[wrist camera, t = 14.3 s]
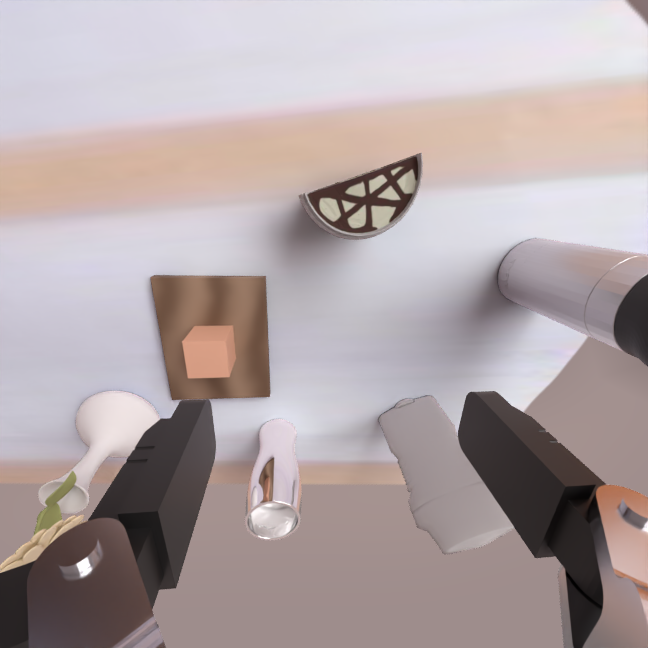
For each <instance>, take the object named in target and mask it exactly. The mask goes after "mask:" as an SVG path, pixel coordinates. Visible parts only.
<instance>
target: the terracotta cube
mask: <svg viewBox="0 0 648 648" xmlns="http://www.w3.org/2000/svg"><path fill="white" fill-rule="evenodd" d="M182 344H183V350H184V357H185V363H186V369H187V376H188V378H220V377H230V374H231V371H232V368H233V366H234V363H235V360H236V353H235V342H234V331H233V325H231V326H194V327H193V329H192V330H191V331H190V332H189V334H188V335H187V336H186V337H185V339H184V340H183V341H182Z"/></svg>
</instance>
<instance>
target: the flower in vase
mask: <svg viewBox="0 0 648 648" xmlns="http://www.w3.org/2000/svg"><path fill="white" fill-rule="evenodd" d="M159 420H160V417H159V415H158V413H157V411H156V409H155V408H154V407H153V406H152V405H151V404H150V403H149V402H148V401H147V400H145V399H144V398H142V397H140V396H138V395H135V394H133V393H129V392H125V391H105V392H100V393H97V394H95V395H92V396H91V397H89V398H88V399H86V400H85V401H84V402H83V403H82V405H81V406H80V408H79V410H78V413H77V416H76V428H77V431H78V433H79V435H80V437H81V439H82V441H83V442H84V443H85V444H86V445H87V446H88V447H89V449H88V451H87V453H86V454H85V455H84V457H83V458H82V459H81V460H80V461H79V462H78V464H77V465H75V466H74V467H73V468H72V469H71V470H70V471H69V472H68V473H66V474H65V475H64V476H62V477H60V478H59V479H56V480H53V481H50V482H47V483H46V484H44V485H43V486H41V488H40V489H39V491H38V498H39V500H40V502H41V503H42V505H44V506H45V507H46V508H45V509H44V510H43V511H41V512H40V514H39V515H38V518H37V525H36V528H35V532H34V536H33V537H32V539H31V541H30V542H27V543H25V544H24V545H22V546H21V547H20V548H19V549H18V550H17V551H16V552H15V554H14V555H12V556H10V557H8V558H7V559H6V560H5V561H4V562H3V563H2V564H1V565H0V569H1V571H0V573H2V572H4V571H7V570H10V569H13V568H16V567H19V566H22V565H25V564H27V563H30V562H32V561H35V560H37V558H38V557H39V555H40V554H41V553H42V552H43V551H44V549H45V548H46V547H47V546H49V545H50V544H51V543H52V542H53V541H54V540H55V539H56V538H58V537H59V536H60V535H62V534H63V533H65V532H66V531H68V530H69V529H71V528H73V527H75V526H77V525H79V524H81V523H83V522H86V521H83V522H81V521H82V520H83V518H84V516H83V515H80V516H77V517H76V515H74V516H71V517H69V518H68V519H66V520H65V521H63V520H62V516H61V514H73V513H78V512H80V511H82V510H84V509H85V508H86V507H87V505H88V503H89V494H88V489H89V485H90V483H91V480H92V478H93V476H94V475H95V473H96V471H97V470H98V468H99V467H100V465H101V464H102V462H103V461H104V460H105V459H106V458H107V457H108V456H109V457H116V458H122V457H129V456H130V454H131V453H132V451H133V450H135V446H136V445H137V443H138V442H139V440H140V439H141V437H142V435H143V434H144V432H145V431H146V430H148V429H149V428H150V427H151V426H153V425H154V424H155V423H156V422H157V421H159ZM80 522H81V523H80Z"/></svg>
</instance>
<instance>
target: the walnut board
mask: <svg viewBox="0 0 648 648" xmlns="http://www.w3.org/2000/svg"><path fill="white" fill-rule="evenodd" d="M150 278H151V284H152V290H153V295H154V301H155V307H156V312H157V318H158V324H159V329H160V335H161V341H162V346H163V352H164V358H165V363H166V369H167V375H168V380H169V386H170V391H171V397H172V400H184V399H216V398H249V397H270V373H269V347H268V322H267V296H266V276H169V275H154V276H152V277H150ZM231 325H233V331H234V342H235V353H236V360H235V363H234V366H233V368H232V371H231V374H230V377H220V378H188V376H187V369H186V363H185V357H184V350H183V344H182V341H183V340H184V339H185V337H186V336H187V335H188V334H189V332H190V331H191V330H192V329H193V327H194V326H231Z"/></svg>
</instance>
